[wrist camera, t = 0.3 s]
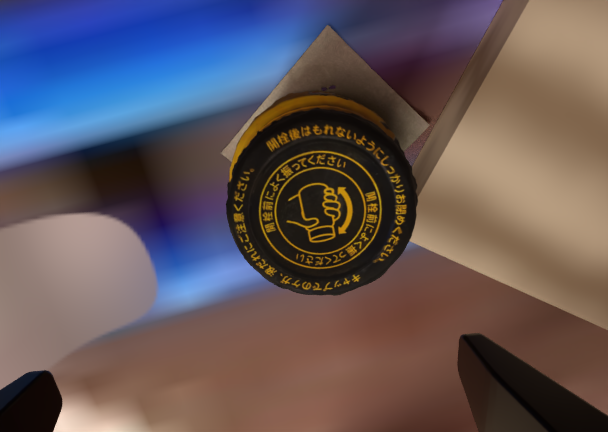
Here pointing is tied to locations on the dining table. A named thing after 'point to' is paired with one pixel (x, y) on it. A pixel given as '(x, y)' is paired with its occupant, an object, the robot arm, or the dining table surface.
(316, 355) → the dining table surface
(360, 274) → the condiment
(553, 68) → the base board
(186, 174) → the dining table surface
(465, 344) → the robot arm
